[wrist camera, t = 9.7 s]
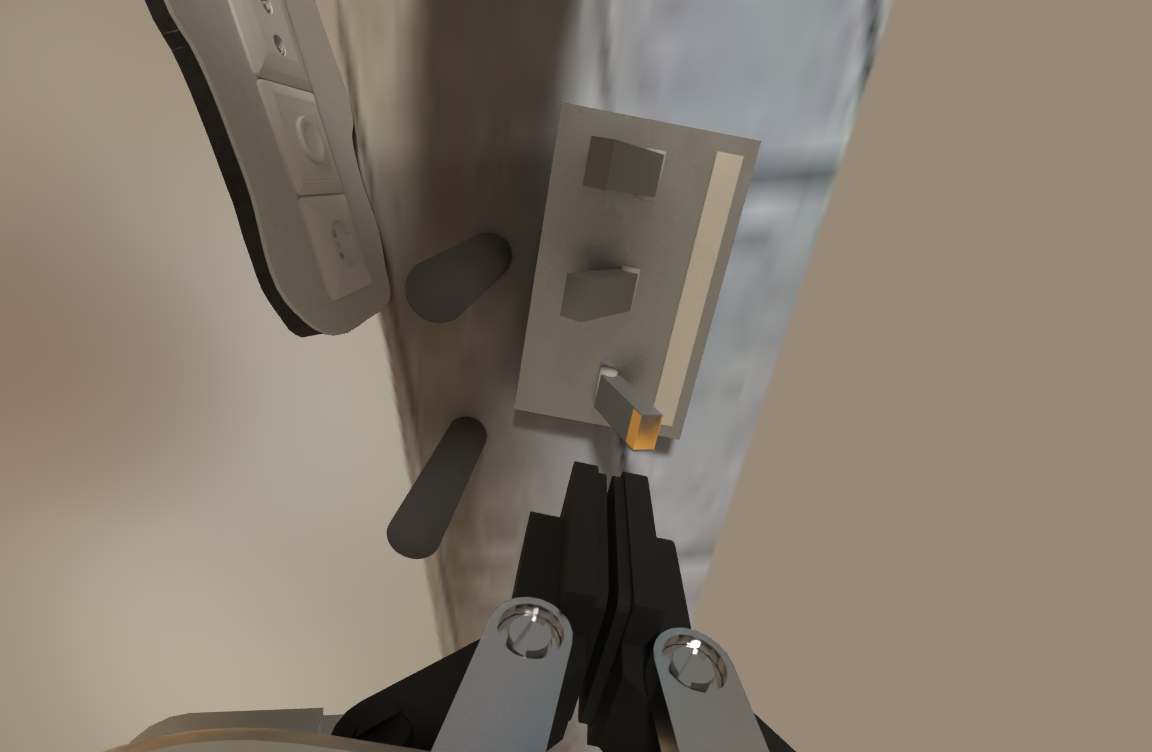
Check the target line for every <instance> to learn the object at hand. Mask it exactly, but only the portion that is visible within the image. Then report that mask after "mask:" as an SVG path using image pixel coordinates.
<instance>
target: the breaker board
mask: <svg viewBox="0 0 1152 752" xmlns="http://www.w3.org/2000/svg"><path fill="white" fill-rule="evenodd" d="M591 136H597V137H604V138H610V139H616V140H619V141H622V142H625V143H628V144H632V145H635V146H638V147H641V148H644V149H646V148H651V149H657V150H662V151H665V152H666V157H665V161H664V166H663V171H662V175H661V180H660V184H659V189H658V193H657V198H656V201H652V200H646V199H641V198H637V197H636V196H637V195H635V194H628V193H622V192H615V191H609V190H603V189H598V188H593V187H588V186H584V185H583V180H584V174H585V169H586V163H587V157H588V152H589V146H590V140H591ZM760 143H761V141H757V140H752V139H747V138H742V137H737V136H731V135H726V134H721V133H716V132H711V131H706V130H701V129H696V128H690V127H685V126H680V125H675V124H670V123H665V122H660V121H655V120H650V119H644V118H639V117H634V116H629V115H624V114H619V113H614V112H609V111H603V110H598V109H593V108H588V107H583V106H578V105H573V104H568V103H562V104H561V110H560V117H559V123H558V130H557V136H556V143H555V149H554V155H553V162H552V168H551V175H550V181H549V188H548V194H547V200H546V207H545V213H544V220H543V226H542V233H541V239H540V246H539V252H538V258H537V265H536V271H535V278H534V284H533V291H532V297H531V303H530V310H529V316H528V323H527V329H526V336H525V342H524V348H523V355H522V361H521V368H520V374H519V381H518V387H517V393H516V400H515V406H514V409H517V410H522V411H527V412H533V413H538V414H544V415H549V416H554V417H560V418H565V419H570V420H576V421H581V422H587V423H592V424H597V425H603V426H608V427H611V426H610V425H609V423H608V422H607V421H606V420H605V419H604V418H603V417H602V415H601V414H600V413H599V412H598V411H597V410H595V409H594V408H593V402H594V398H595V393H596V388H597V383H598V378H599V374H600V369H601V368H602V367H608V368H613V369H615V370H617V371H618V375H620V376H621V377H622V378H623V379H624V380H625V381H627V382H628V383H629V384H630V385H631V386H632V387H633V388H634V389H635V390H636V391H637V392H639V393H640V394H641V395H642V396H643V397H644V398H645V399H646V400H647V401H648V402H650V403H651V404H652V405H653V406H654V407H655V408H656V409H657V410H658V411H659V412H660V413H662V414H663V417H662V421H661V424H660V428H659V432H658V436H662V437H667V438H673V439H678V440H679V439H680V435H681V432H682V428H683V424H684V421H685V417H686V413H687V410H688V406H689V403H690V399H691V395H692V392H693V388H694V384H695V381H696V377H697V373H698V370H699V366H700V362H701V359H702V355H703V351H704V348H705V344H706V340H707V337H708V333H709V329H710V326H711V322H712V318H713V315H714V311H715V307H716V304H717V300H718V297H719V293H720V289H721V286H722V282H723V278H724V275H725V271H726V267H727V264H728V260H729V256H730V253H731V249H732V245H733V242H734V238H735V234H736V231H737V227H738V223H739V220H740V216H741V212H742V209H743V205H744V201H745V198H746V194H747V191H748V187H749V183H750V180H751V176H752V172H753V169H754V165H755V161H756V158H757V154H758V150H759V147H760ZM622 266H632V267H636V268H639V269H641V270H640V275H639V279H638V284H637V288H636V293H635V297H634V302H633V306H632V311H631V313H619V314H615V315H611V316H606V317H602V318H598V319H593V320H589V321H585V322H578V321H575V320H572V319H569V318H566V317H563V316H560V311H561V306H562V300H563V294H564V288H565V283H566V277H567V273H574V272H585V271H596V270H607V269H621V268H622Z"/></svg>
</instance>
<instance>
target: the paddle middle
mask: <svg viewBox="0 0 1152 752" xmlns="http://www.w3.org/2000/svg"><path fill="white" fill-rule="evenodd" d="M640 270H641V269H639V268H636V267H632V266H622V268H621V269H607V270H596V271H585V272H574V273H567V277H566V283H565V288H564V294H563V300H562V306H561V311H560V316H563V317H566V318H569V319H572V320H575V321H578V322H585V321H589V320H593V319H598V318H602V317H606V316H611V315H615V314H619V313H631V311H632V306H633V302H634V297H635V293H636V288H637V284H638V279H639V275H640Z"/></svg>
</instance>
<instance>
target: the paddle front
mask: <svg viewBox="0 0 1152 752" xmlns="http://www.w3.org/2000/svg"><path fill="white" fill-rule="evenodd" d="M665 157H666V152H665V151H662V150H657V149H651V148H646V149H644V148H641V147H638V146H635V145H632V144H628V143H625V142H622V141H619V140H616V139H610V138H604V137H597V136H591V140H590V146H589V152H588V157H587V163H586V169H585V174H584V180H583V185H584V186H588V187H593V188H598V189H603V190H609V191H615V192H622V193H628V194H635V195H637V196H636V197H637V198H641V199H646V200H652V201H656V198H657V193H658V189H659V184H660V180H661V175H662V171H663V166H664V161H665Z"/></svg>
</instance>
